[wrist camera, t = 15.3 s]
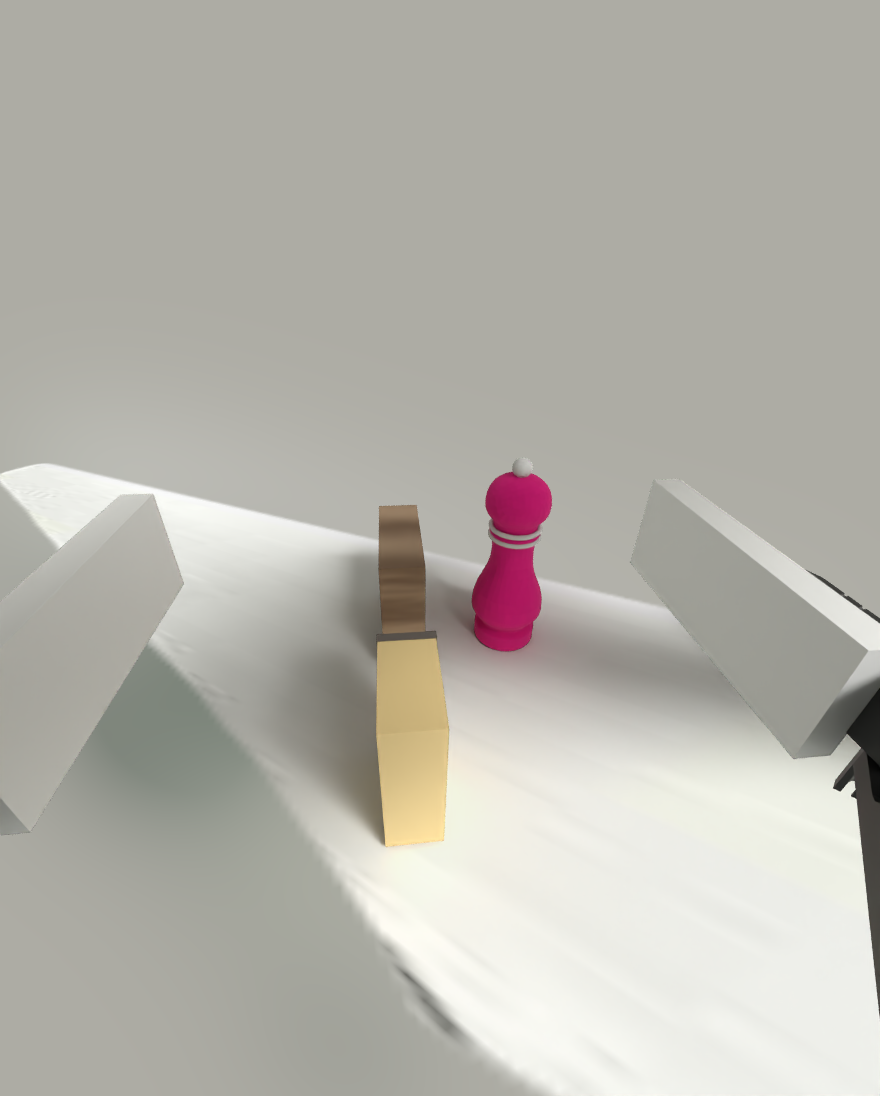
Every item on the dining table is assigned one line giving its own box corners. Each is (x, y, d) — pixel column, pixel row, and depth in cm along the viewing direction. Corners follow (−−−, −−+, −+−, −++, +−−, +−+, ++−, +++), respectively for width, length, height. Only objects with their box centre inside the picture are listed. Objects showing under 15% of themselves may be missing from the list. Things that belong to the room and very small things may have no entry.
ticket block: (424, 666, 46) (425, 567, 39) (384, 669, 45) (378, 569, 39) (417, 593, 56) (416, 504, 49) (384, 595, 55) (379, 506, 49)
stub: (444, 840, 32) (450, 728, 25) (384, 847, 31) (375, 734, 25) (433, 739, 38) (435, 630, 32) (384, 743, 38) (376, 633, 32)
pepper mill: (461, 615, 52) (471, 447, 42) (520, 606, 54) (543, 442, 44) (482, 660, 46) (499, 477, 36) (547, 649, 48) (581, 470, 38)
